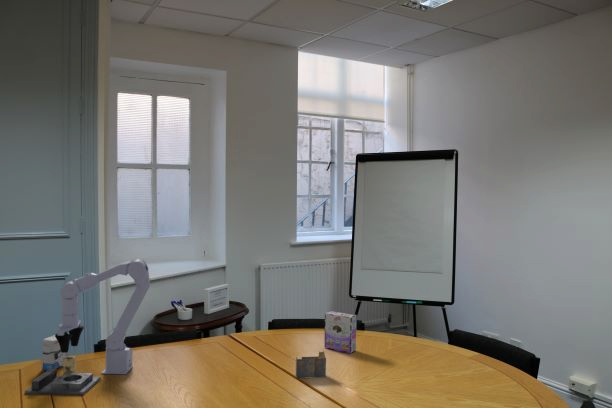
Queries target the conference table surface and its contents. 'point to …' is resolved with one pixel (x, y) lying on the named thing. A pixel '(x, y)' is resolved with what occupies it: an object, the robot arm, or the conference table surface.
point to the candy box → (340, 331)
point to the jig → (62, 383)
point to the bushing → (69, 364)
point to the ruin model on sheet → (311, 366)
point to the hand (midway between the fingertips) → (69, 349)
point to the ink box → (52, 354)
